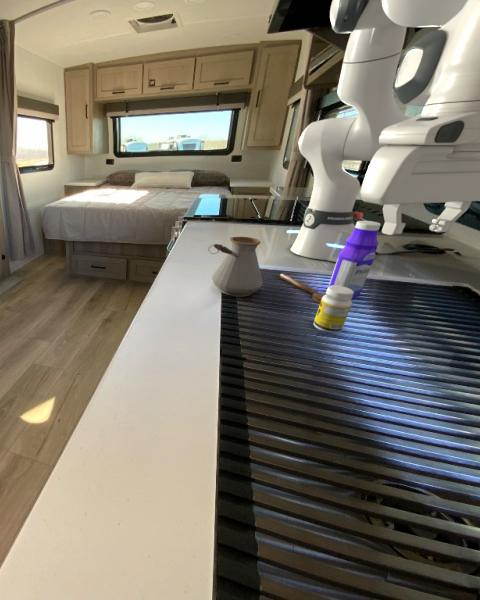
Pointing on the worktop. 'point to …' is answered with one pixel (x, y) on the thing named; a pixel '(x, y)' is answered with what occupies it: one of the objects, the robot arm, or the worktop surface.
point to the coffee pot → (238, 268)
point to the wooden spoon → (304, 288)
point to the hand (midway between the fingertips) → (414, 232)
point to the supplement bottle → (333, 309)
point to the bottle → (356, 257)
